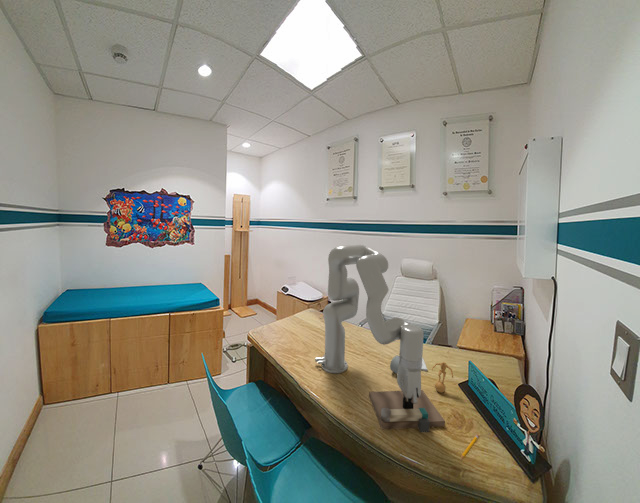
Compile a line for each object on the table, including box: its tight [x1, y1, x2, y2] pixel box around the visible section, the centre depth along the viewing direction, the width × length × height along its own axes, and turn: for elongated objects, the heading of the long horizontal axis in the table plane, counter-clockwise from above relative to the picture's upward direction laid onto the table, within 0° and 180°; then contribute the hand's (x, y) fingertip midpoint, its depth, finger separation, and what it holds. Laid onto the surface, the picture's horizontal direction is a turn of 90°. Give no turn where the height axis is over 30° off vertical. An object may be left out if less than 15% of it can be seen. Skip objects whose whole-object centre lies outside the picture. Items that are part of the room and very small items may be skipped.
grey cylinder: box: [389, 355, 399, 375], centre depth 114 cm, size 11×8×8 cm
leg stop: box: [417, 419, 431, 433], centre depth 83 cm, size 3×2×4 cm, turn 94°
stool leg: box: [381, 408, 428, 422], centre depth 85 cm, size 16×3×3 cm, turn 92°
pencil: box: [460, 434, 479, 461], centre depth 77 cm, size 1×13×1 cm, turn 129°
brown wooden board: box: [368, 389, 446, 430], centre depth 92 cm, size 22×16×2 cm
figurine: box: [431, 361, 454, 393], centre depth 103 cm, size 8×6×12 cm
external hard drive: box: [420, 356, 428, 372], centre depth 124 cm, size 2×8×12 cm
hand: (407, 408), depth 89 cm, fingers closed
